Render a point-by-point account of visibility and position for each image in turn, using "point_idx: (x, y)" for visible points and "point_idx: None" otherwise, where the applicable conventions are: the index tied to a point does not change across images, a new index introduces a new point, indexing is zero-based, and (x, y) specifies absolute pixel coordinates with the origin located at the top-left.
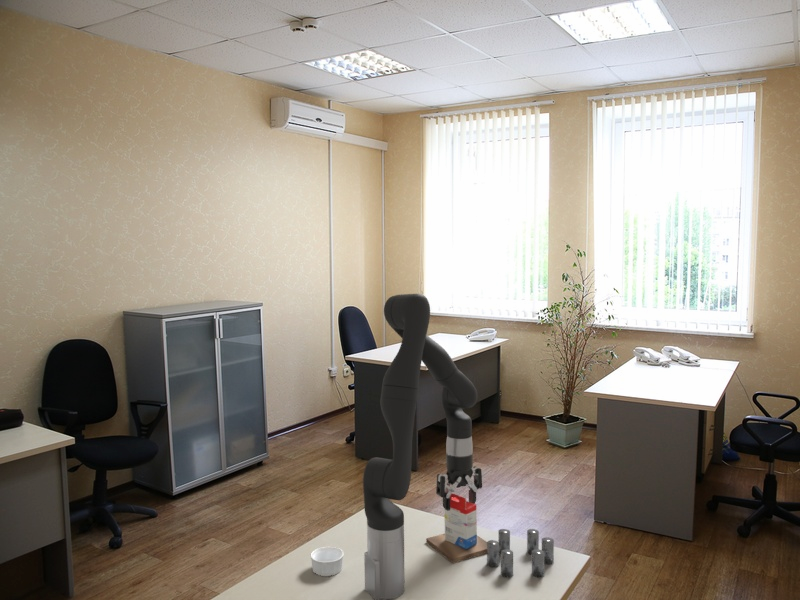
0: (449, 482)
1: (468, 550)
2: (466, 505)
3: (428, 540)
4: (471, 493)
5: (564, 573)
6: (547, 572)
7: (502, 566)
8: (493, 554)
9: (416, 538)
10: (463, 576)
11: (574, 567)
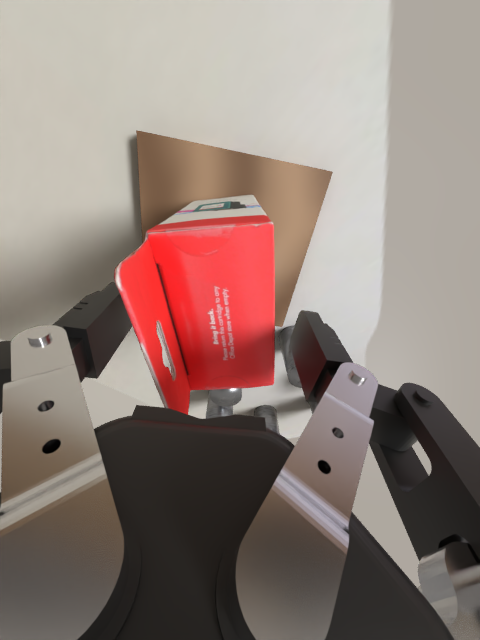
0: (55, 441)
1: None
2: (220, 371)
3: (138, 152)
4: (309, 376)
5: (301, 427)
6: (283, 415)
7: (207, 404)
8: None
9: (119, 55)
10: (139, 352)
11: None
